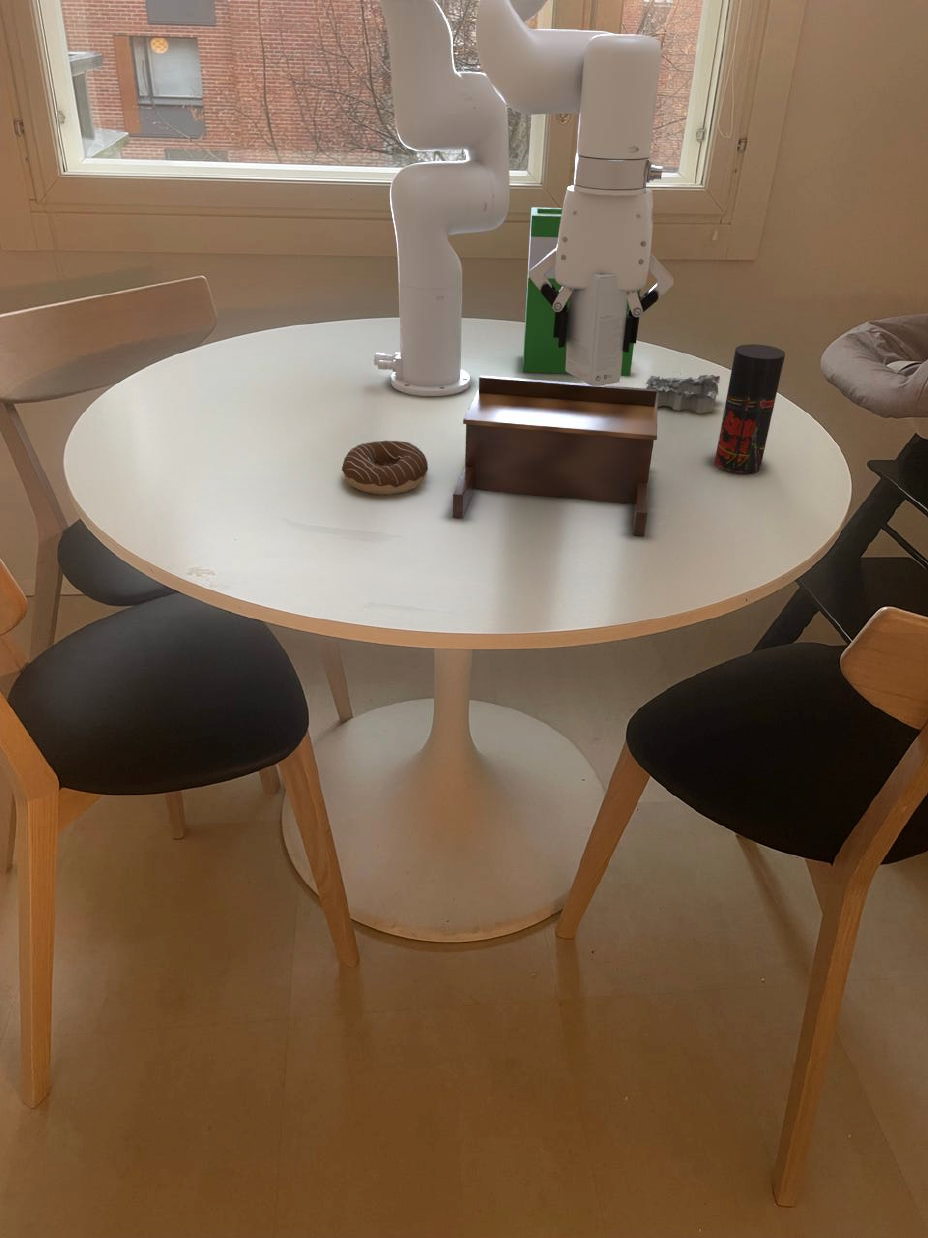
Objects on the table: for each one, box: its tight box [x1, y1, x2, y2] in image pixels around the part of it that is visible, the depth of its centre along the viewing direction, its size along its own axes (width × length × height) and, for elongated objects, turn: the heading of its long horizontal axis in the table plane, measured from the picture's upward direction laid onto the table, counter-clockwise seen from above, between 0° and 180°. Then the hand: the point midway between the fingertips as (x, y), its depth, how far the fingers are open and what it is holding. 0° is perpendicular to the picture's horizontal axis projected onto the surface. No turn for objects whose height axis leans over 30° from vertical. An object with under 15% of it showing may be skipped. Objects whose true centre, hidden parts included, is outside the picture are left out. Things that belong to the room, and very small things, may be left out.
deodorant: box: [714, 343, 786, 475], centre depth 115 cm, size 6×6×15 cm
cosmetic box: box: [566, 274, 628, 386], centre depth 102 cm, size 6×4×12 cm
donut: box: [341, 440, 429, 495], centre depth 111 cm, size 11×11×4 cm
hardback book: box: [522, 206, 642, 377], centre depth 145 cm, size 18×7×24 cm, turn 87°
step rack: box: [452, 375, 658, 537], centre depth 108 cm, size 23×18×11 cm
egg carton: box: [645, 374, 721, 415], centre depth 137 cm, size 11×8×4 cm
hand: (594, 345), depth 104 cm, fingers closed on cosmetic box, 6 cm apart
